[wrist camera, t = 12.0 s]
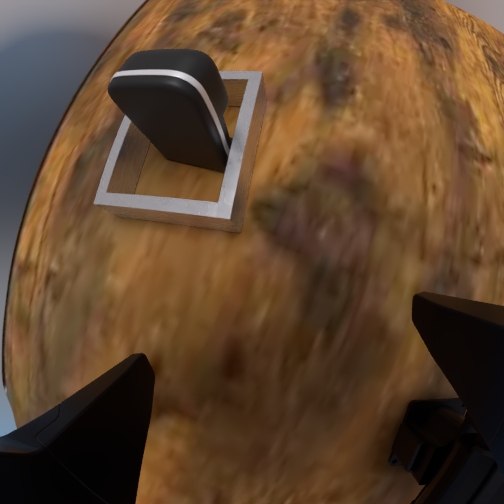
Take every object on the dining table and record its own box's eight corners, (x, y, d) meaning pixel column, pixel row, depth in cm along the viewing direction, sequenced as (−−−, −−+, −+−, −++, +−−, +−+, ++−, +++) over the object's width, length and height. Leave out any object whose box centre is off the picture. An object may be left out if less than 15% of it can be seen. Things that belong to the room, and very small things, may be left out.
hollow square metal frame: (266, 99, 24) (262, 71, 20) (240, 233, 22) (229, 219, 18) (158, 100, 26) (142, 77, 22) (119, 216, 24) (93, 203, 20)
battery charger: (248, 138, 23) (218, 39, 12) (233, 176, 23) (188, 85, 12) (180, 126, 25) (125, 43, 13) (163, 160, 24) (94, 84, 13)
